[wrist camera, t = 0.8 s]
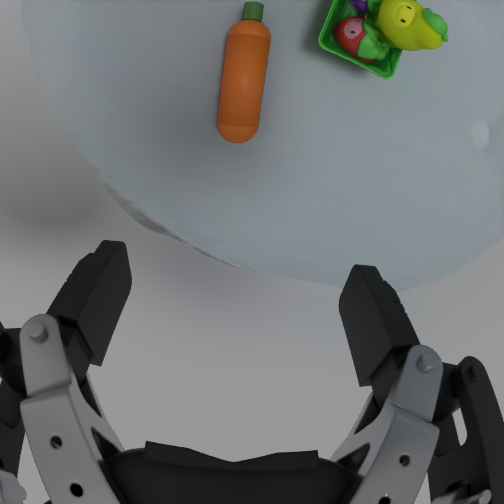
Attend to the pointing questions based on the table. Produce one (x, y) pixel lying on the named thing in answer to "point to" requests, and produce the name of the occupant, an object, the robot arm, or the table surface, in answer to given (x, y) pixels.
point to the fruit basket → (380, 32)
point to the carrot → (243, 76)
